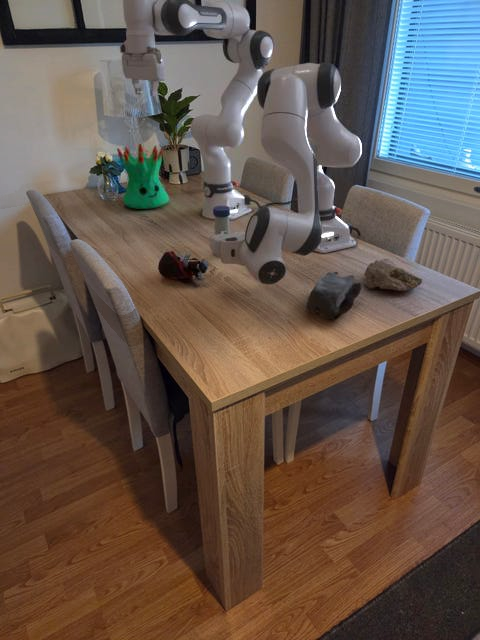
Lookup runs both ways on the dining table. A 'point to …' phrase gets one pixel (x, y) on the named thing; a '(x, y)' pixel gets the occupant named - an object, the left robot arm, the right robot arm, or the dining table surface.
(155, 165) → the toy
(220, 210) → the lid
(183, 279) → the toy
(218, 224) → the pale green cylinder
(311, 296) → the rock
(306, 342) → the dining table surface
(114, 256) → the dining table surface
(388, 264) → the artifact
